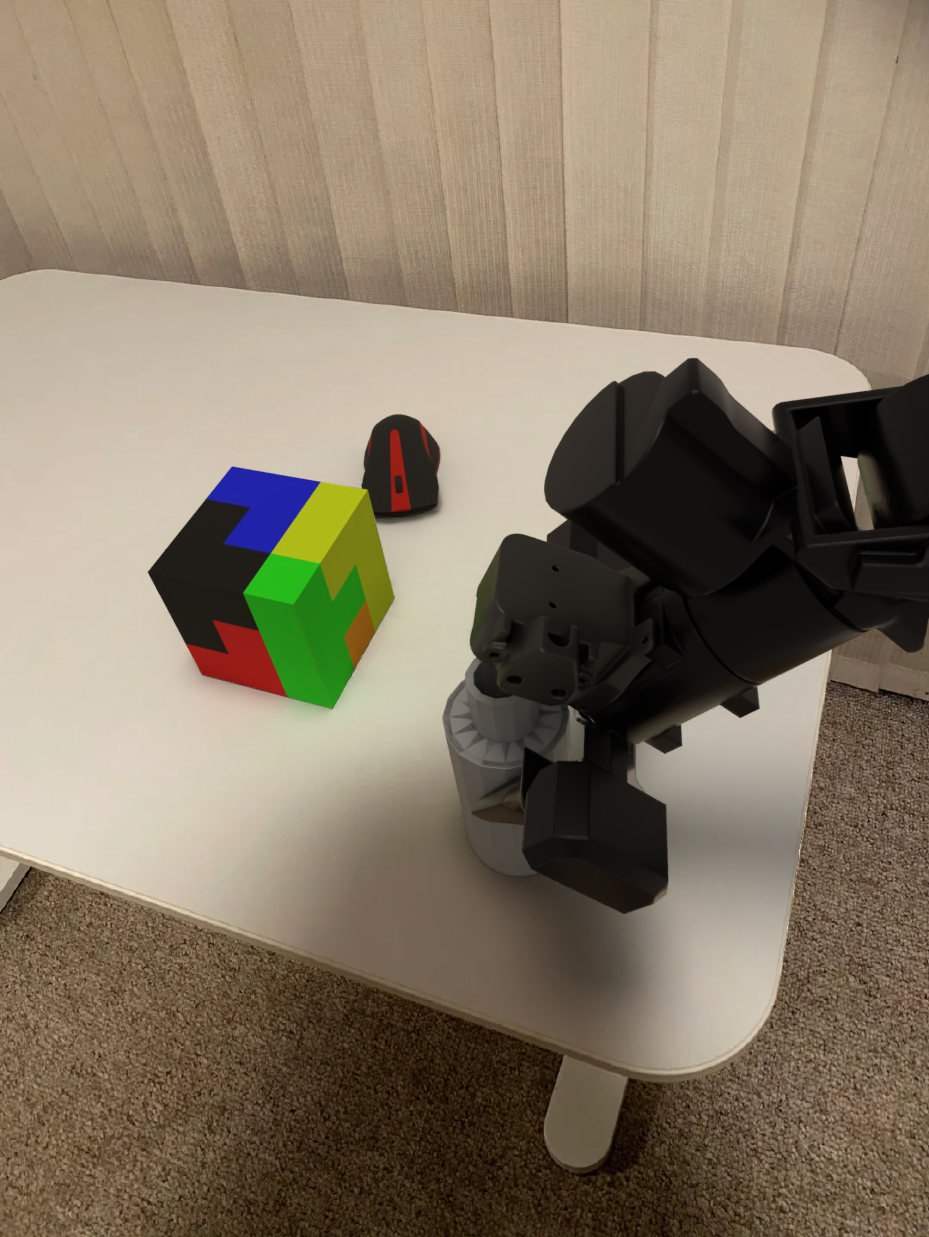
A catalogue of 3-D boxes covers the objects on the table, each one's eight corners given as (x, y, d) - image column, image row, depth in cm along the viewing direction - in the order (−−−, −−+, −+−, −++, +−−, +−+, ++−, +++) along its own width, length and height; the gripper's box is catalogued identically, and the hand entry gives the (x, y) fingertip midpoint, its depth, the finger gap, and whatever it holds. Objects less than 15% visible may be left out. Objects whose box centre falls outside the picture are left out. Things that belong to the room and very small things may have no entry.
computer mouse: (363, 528, 70) (352, 488, 67) (364, 440, 78) (354, 401, 75) (445, 518, 70) (438, 477, 67) (438, 431, 77) (432, 390, 74)
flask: (595, 837, 51) (594, 686, 41) (506, 897, 50) (480, 754, 39) (533, 763, 55) (517, 606, 44) (448, 816, 53) (410, 666, 43)
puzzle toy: (272, 571, 68) (231, 466, 61) (394, 597, 65) (367, 489, 58) (201, 674, 62) (147, 572, 55) (332, 708, 59) (293, 604, 52)
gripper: (591, 369, 40) (387, 550, 50) (576, 726, 28) (311, 871, 38) (757, 504, 45) (540, 645, 55) (805, 860, 33) (515, 958, 43)
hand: (484, 758), depth 47 cm, fingers closed on flask, 6 cm apart
